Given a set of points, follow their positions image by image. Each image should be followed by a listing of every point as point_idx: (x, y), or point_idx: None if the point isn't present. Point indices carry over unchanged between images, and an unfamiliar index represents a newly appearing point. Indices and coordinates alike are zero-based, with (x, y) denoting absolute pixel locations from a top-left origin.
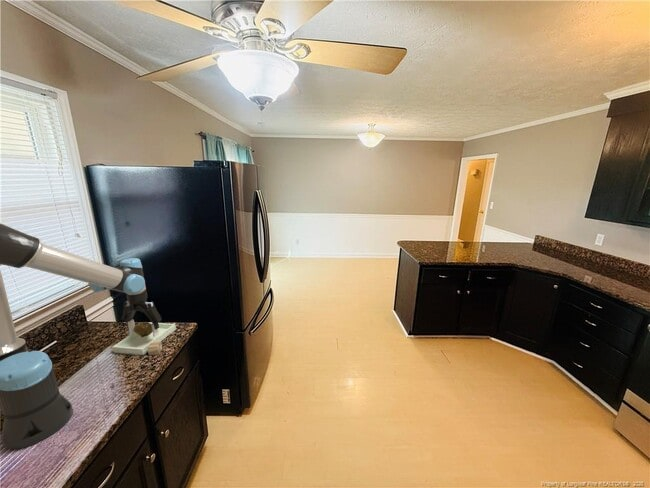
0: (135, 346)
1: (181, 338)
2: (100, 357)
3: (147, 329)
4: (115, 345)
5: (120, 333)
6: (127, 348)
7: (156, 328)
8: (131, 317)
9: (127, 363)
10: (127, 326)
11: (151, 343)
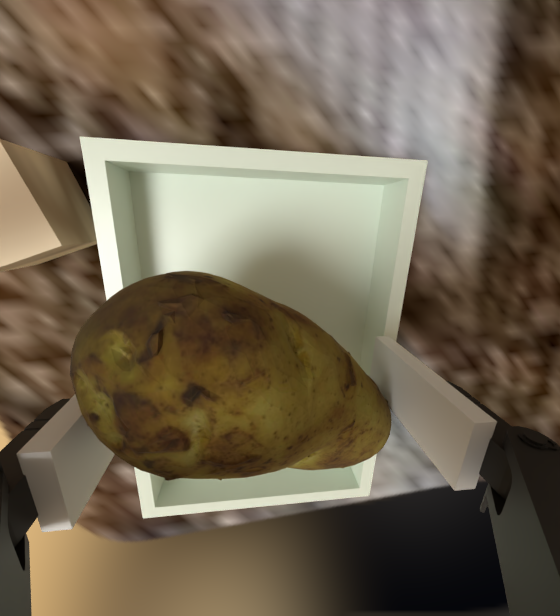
0: (273, 252)
1: (6, 398)
2: (451, 105)
3: (75, 342)
4: (412, 186)
5: (494, 381)
6: (261, 149)
7: (50, 408)
8: (506, 522)
9: (155, 22)
10: (461, 388)
11: (31, 222)
